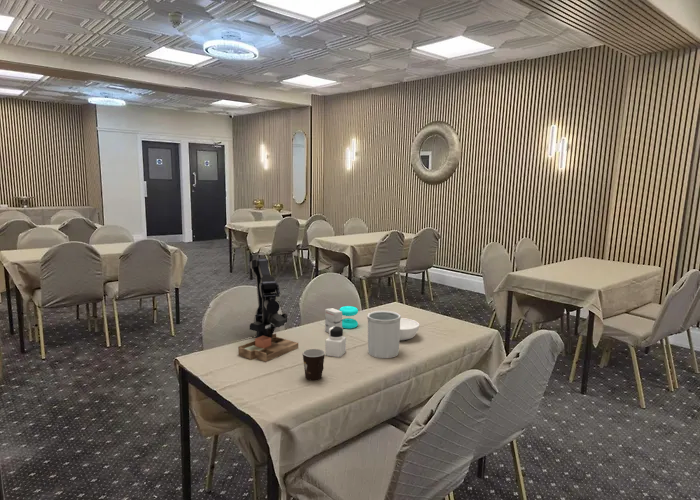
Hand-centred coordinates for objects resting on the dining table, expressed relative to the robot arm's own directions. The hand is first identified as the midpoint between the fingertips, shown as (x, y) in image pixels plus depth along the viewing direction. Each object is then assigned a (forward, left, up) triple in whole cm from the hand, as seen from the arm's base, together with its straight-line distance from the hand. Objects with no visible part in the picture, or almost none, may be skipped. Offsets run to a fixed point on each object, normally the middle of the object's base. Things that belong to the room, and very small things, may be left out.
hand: (269, 340), depth 210 cm
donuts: (+10, +48, -4) cm, 49 cm away
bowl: (+40, +50, -4) cm, 64 cm away
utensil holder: (+44, +27, -4) cm, 52 cm away
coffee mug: (+37, -13, -4) cm, 39 cm away
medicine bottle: (+28, +13, -4) cm, 31 cm away
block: (0, -4, -1) cm, 4 cm away
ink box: (+10, +35, -4) cm, 37 cm away
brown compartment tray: (+3, -3, -3) cm, 6 cm away
